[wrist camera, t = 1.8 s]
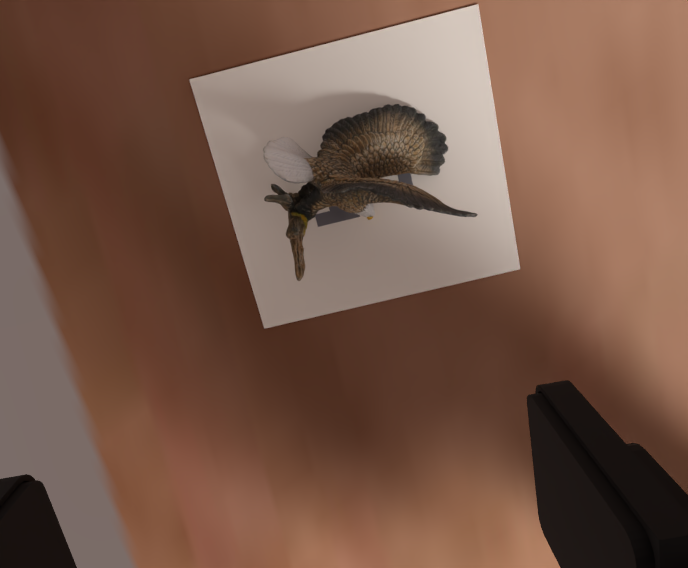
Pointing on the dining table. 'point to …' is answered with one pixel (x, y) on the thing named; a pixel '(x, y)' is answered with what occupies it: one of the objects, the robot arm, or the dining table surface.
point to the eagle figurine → (358, 169)
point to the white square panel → (390, 219)
